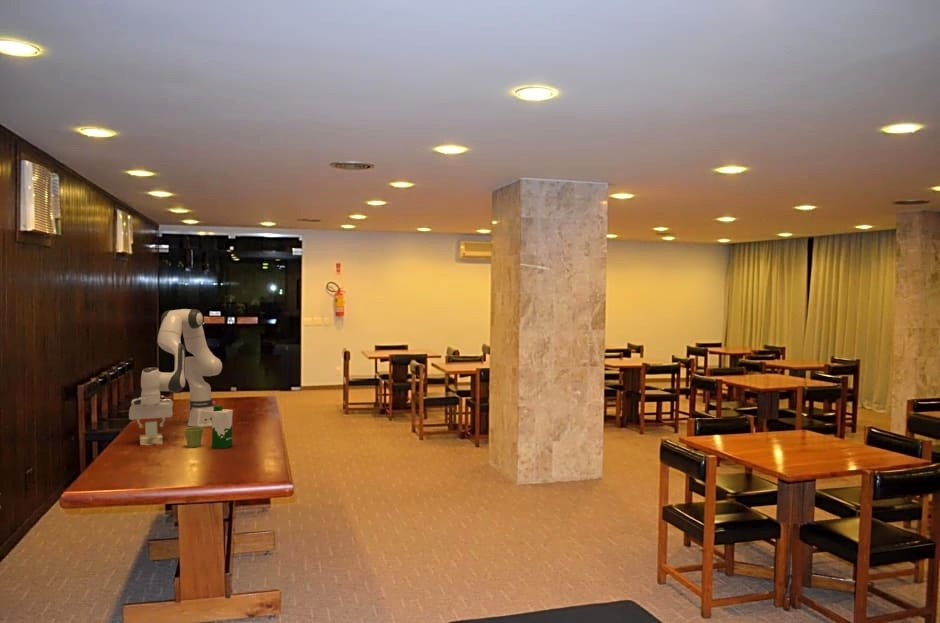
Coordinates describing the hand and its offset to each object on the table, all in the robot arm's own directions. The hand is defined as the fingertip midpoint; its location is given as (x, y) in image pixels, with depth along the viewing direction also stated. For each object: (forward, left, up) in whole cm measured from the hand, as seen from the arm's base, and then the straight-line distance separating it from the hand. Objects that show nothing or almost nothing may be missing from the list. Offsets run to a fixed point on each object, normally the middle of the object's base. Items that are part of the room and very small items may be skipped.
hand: (151, 427), depth 358 cm
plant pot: (-20, +16, -8) cm, 27 cm away
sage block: (0, 0, -4) cm, 4 cm away
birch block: (0, 0, -9) cm, 9 cm away
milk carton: (-33, +23, -8) cm, 41 cm away
